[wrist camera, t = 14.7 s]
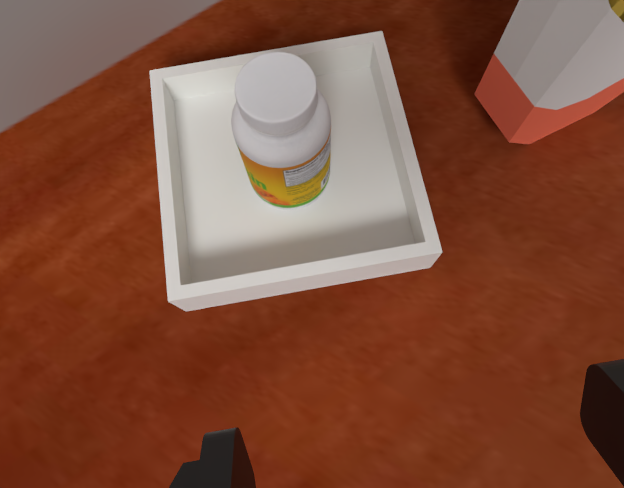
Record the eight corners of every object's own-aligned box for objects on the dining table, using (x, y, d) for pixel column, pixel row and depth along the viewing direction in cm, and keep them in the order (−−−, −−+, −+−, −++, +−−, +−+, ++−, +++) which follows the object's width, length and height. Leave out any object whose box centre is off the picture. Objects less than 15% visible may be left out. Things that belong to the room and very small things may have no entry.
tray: (377, 64, 35) (382, 30, 32) (430, 267, 30) (442, 252, 27) (166, 101, 35) (149, 70, 32) (186, 311, 30) (168, 301, 27)
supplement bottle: (236, 161, 32) (200, 67, 23) (306, 126, 33) (298, 22, 23) (272, 226, 30) (249, 154, 21) (344, 188, 31) (352, 103, 22)
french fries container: (628, 101, 33) (943, -206, 16) (499, 165, 32) (689, -93, 15) (589, 54, 35) (840, -275, 18) (463, 114, 34) (601, -176, 16)
